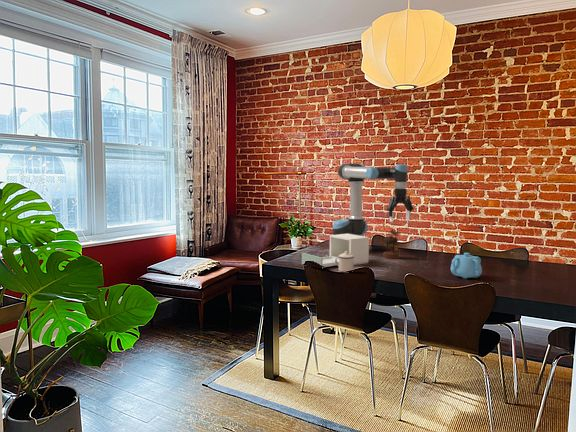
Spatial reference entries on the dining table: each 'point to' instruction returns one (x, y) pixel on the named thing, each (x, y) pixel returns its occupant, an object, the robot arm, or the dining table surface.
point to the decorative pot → (466, 266)
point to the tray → (320, 259)
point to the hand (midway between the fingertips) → (399, 221)
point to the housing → (350, 247)
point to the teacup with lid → (345, 261)
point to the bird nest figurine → (390, 241)
